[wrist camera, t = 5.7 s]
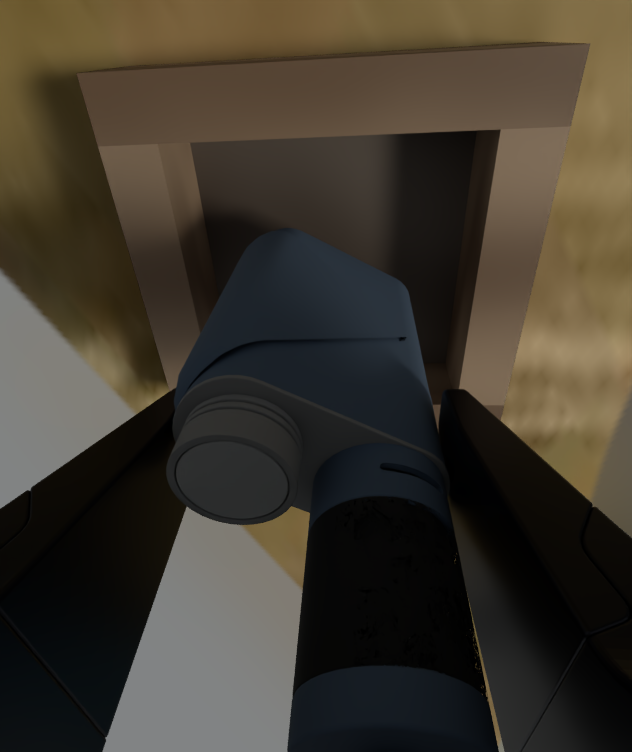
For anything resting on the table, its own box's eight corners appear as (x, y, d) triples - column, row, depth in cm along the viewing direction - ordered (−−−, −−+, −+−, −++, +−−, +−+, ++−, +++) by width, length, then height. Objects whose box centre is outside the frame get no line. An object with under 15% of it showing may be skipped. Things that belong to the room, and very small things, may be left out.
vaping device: (382, 354, 15) (430, 921, 5) (230, 283, 14) (-51, 832, 4) (428, 289, 14) (605, 898, 4) (263, 204, 13) (-44, 758, 3)
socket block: (477, 386, 18) (495, 439, 16) (204, 384, 19) (182, 434, 17) (543, 42, 12) (590, 43, 10) (129, 66, 13) (76, 73, 11)
